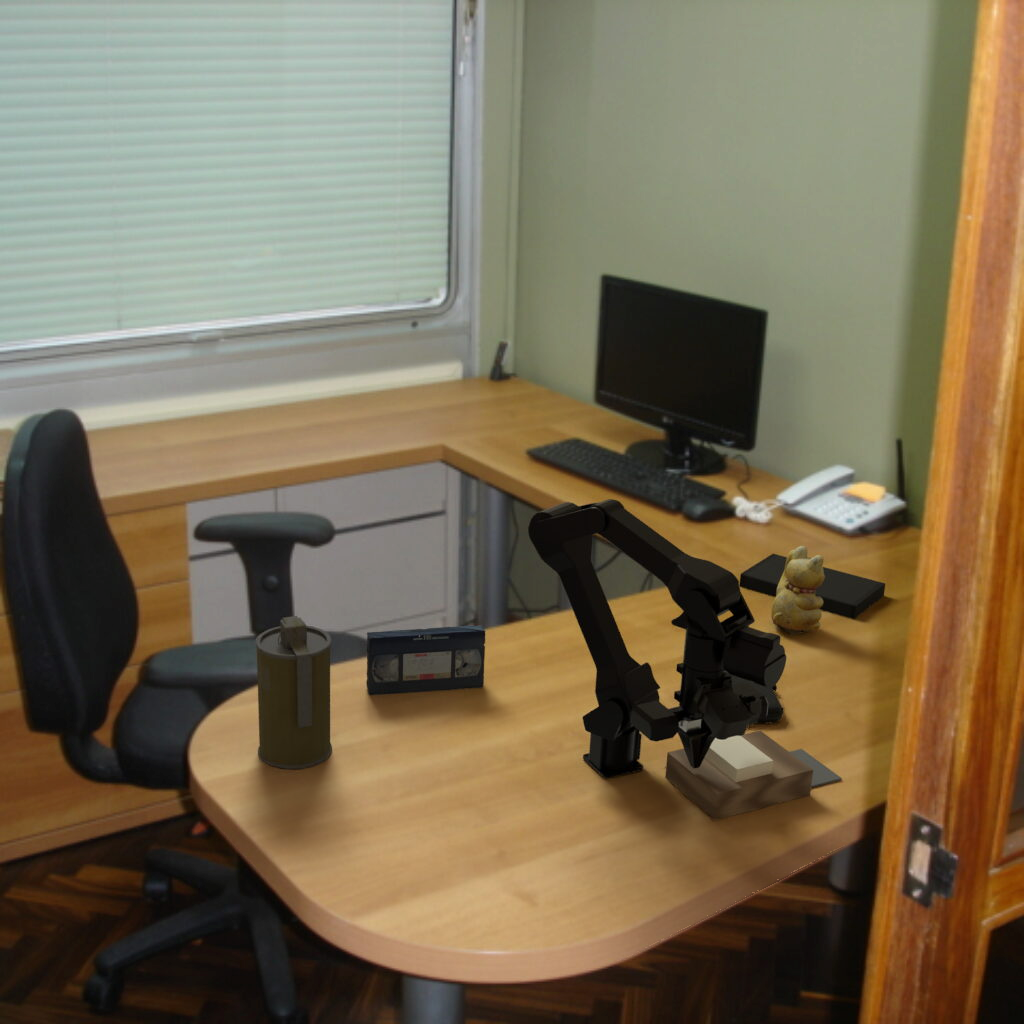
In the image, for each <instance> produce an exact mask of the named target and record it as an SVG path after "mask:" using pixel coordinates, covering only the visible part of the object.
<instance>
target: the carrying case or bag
mask: <svg viewBox="0 0 1024 1024" xmlns="http://www.w3.org/2000/svg"><path fill="white" fill-rule="evenodd" d="M726 672H727V671H726ZM727 673H728V672H727ZM730 675H731V674H730ZM731 676H732V677H731V679H732V685H735V684H739V683H744V682H746V683H747V684H748V685H750V686H751V687H753V688H754V689H756V690H757V691H758V692H760V693H761V694H763V695H764V696H765V697H766V699H767V701H768V712H767V717H764V718H759V719H758V723H757V724H774V723H777V722H778V721H779V720H781V719H782V718H783V715H784V707H783V706H782V704H781V702H780V700H779V698H778V697H777V694H776V693H775V692H776V691H777V689H778V688H777V687H778V686H777V684H776V685H775V686H773V687H772V688H768V687H765V686H762V685H759V684H756V683H753V682H751V681H748V680H745V679H742V678H739V677H737V676H734V675H731Z"/></svg>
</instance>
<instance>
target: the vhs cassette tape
mask: <svg viewBox="0 0 1024 1024" xmlns="http://www.w3.org/2000/svg"><path fill="white" fill-rule="evenodd" d="M366 635H367V636H366V637H367V638H366V642H367V644H366V681H365V683H366V690H367V694H368V695H369V696H381V695H382V696H385V695H395V694H397V695H399V694H410V693H411V694H413V693H415V694H416V693H423V692H424V693H425V692H426V693H427V692H443V691H456V690H468V689H470V690H471V689H482V688H484V686H485V685H484V683H485V655H486V653H485V652H486V646H485V645H486V630H485V627H484V626H483V624H479V625H459V626H443V627H442V626H441V627H430V628H414V629H400V630H399V629H395V630H386V631H385V630H384V631H371V632H370V631H369V632H367V633H366Z"/></svg>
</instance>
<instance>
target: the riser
mask: <svg viewBox="0 0 1024 1024" xmlns="http://www.w3.org/2000/svg"><path fill="white" fill-rule="evenodd" d="M741 737H743V738H744V739H745V740H747V741H748V742H749V743H751V744H752V745H753V746H755V747H756V748H757V749H759V750H760V751H761V752H763V753H764V754H765V755H766V756H768V757H769V758H770V759H772V760H773V765H772V773H771V774H767V775H763V776H759V777H755V778H751V779H747V780H743V781H739V782H734V781H733V780H732V779H731V778H729V777H728V776H727V775H726V774H725V773H723V772H722V771H721V770H720V769H718V768H717V767H716V766H715V765H713V764H712V763H711V762H710V761H708V760H707V759H706V758H705V757H704V759H703V761H702V763H701V765H700V767H699V768H695V769H694V768H693V767H691V766H690V763H689V761H688V758H687V755H686V752H685V750H684V748H679V749H675V750H672V751H668V752H667V756H666V767H665V778H666V780H668V781H669V782H670V783H671V784H672V785H674V787H676V789H678V790H679V791H680V792H682V794H684V795H685V796H686V797H687V798H688V799H689V800H690V801H692V802H693V803H694V804H695V805H697V807H699V808H700V809H701V810H703V812H704V813H705V814H707V815H708V816H709V817H710V818H711V819H712V820H714V821H717V820H721V819H726V818H729V817H733V816H737V815H740V814H744V813H747V812H752V811H756V810H759V809H762V808H766V807H767V808H768V807H771V806H774V805H778V804H782V803H786V802H789V801H793V800H796V799H800V798H804V797H808V796H809V797H810V796H811V792H812V788H811V784H812V777H813V769H812V768H810V767H809V766H808V765H806V764H805V763H804V762H802V761H801V760H800V759H798V758H797V757H796V756H794V755H793V754H791V753H790V751H789V750H787V748H785V747H784V746H782V745H780V744H779V743H778V742H776V741H775V740H774V739H773V738H771V737H770V736H768V735H767V734H766V733H764V732H763V731H762V730H757V731H753V732H752V731H751V732H749V733H745V734H744V735H742V736H741Z"/></svg>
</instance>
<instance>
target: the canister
mask: <svg viewBox="0 0 1024 1024" xmlns="http://www.w3.org/2000/svg"><path fill="white" fill-rule="evenodd" d="M279 625H280V626H276V627H272V628H269V629H266V630H265V631H262V632H261V633H260V634H259V635H258V636H257V637H256V639H255V641H254V643H255V644H254V645H255V647H256V670H257V698H258V700H257V701H258V703H257V705H258V732H259V733H258V737H259V738H258V739H259V740H258V741H259V742H258V743H259V744H258V745H259V746H258V748H257V753H258V754H257V755H258V757H259V758H260V760H261V761H262V762H264V763H266V764H267V765H269V766H271V767H275V768H279V769H289V770H290V769H291V770H301V769H305V768H310V767H314V766H317V765H319V764H321V763H323V762H324V761H326V760H327V759H329V758H330V756H331V754H332V750H333V746H332V743H331V646H332V643H333V641H332V637H331V635H330V634H329V633H328V632H327V631H325V630H323V629H322V628H319V627H316V626H313V625H307V624H306V622H305V621H303V619H302V618H301V617H298V616H297V615H293V616H287V617H281V618H280V621H279Z"/></svg>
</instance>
